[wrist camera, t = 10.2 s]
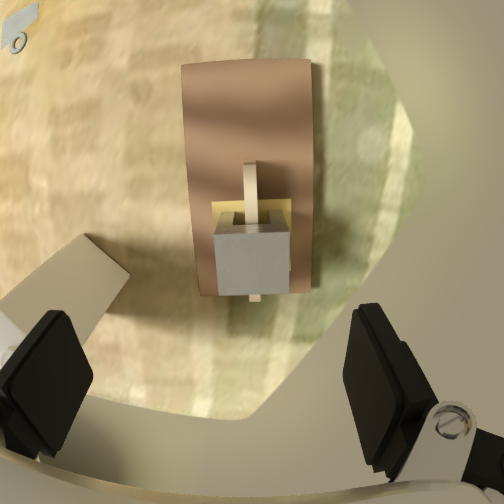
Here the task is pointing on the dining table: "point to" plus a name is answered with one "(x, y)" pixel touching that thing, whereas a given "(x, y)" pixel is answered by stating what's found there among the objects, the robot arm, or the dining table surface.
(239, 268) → the notched grey block
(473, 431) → the robot arm
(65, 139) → the dining table surface
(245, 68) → the rail board
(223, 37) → the dining table surface
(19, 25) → the mounting bracket
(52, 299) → the milk carton
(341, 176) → the dining table surface
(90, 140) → the dining table surface
